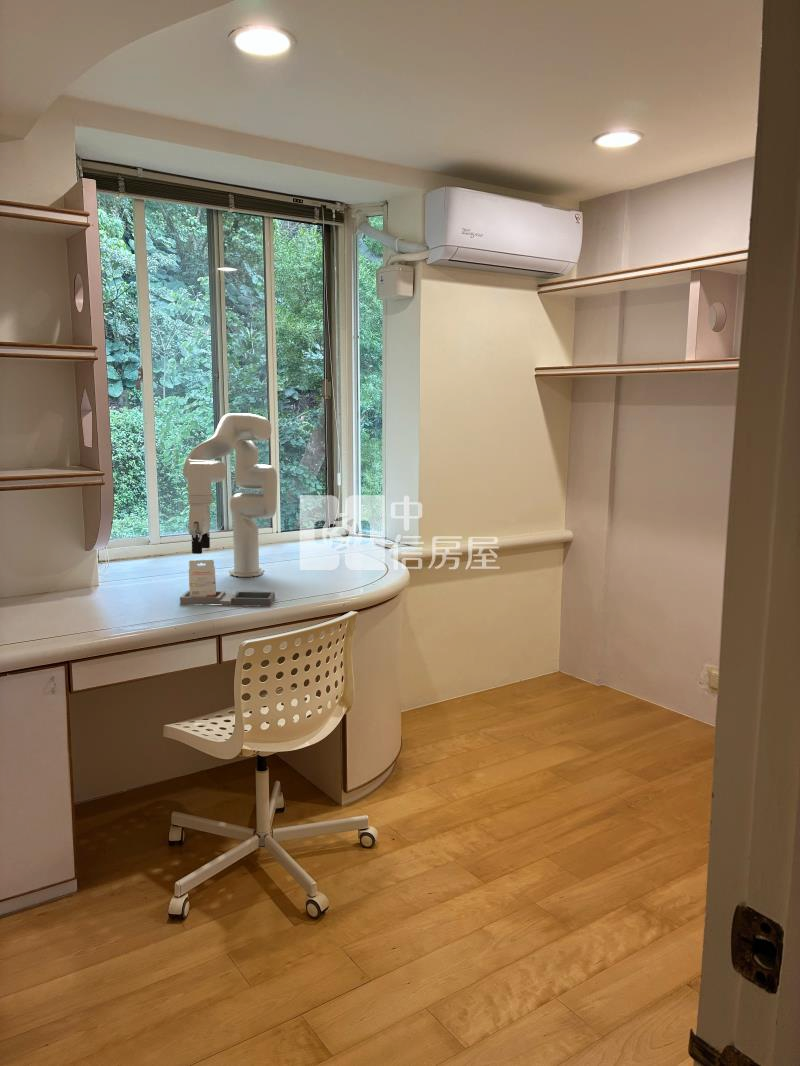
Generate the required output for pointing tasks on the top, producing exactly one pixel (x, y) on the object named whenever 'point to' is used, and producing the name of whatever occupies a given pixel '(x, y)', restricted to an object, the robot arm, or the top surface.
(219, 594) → the brown rectangular tray
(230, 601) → the grey tray
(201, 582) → the ink cartridge box
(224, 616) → the top surface
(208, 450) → the robot arm
